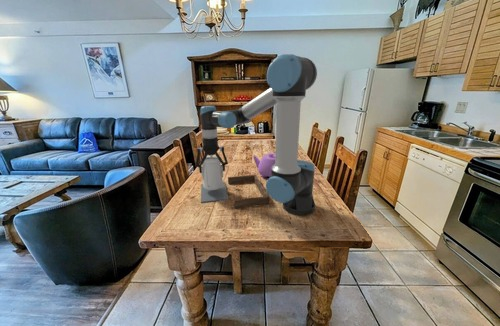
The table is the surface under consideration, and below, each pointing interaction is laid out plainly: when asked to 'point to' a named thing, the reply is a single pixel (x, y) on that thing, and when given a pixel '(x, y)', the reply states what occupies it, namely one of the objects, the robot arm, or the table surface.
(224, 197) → the trivet
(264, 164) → the teapot
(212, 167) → the coffeepot
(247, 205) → the bracket
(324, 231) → the table surface
